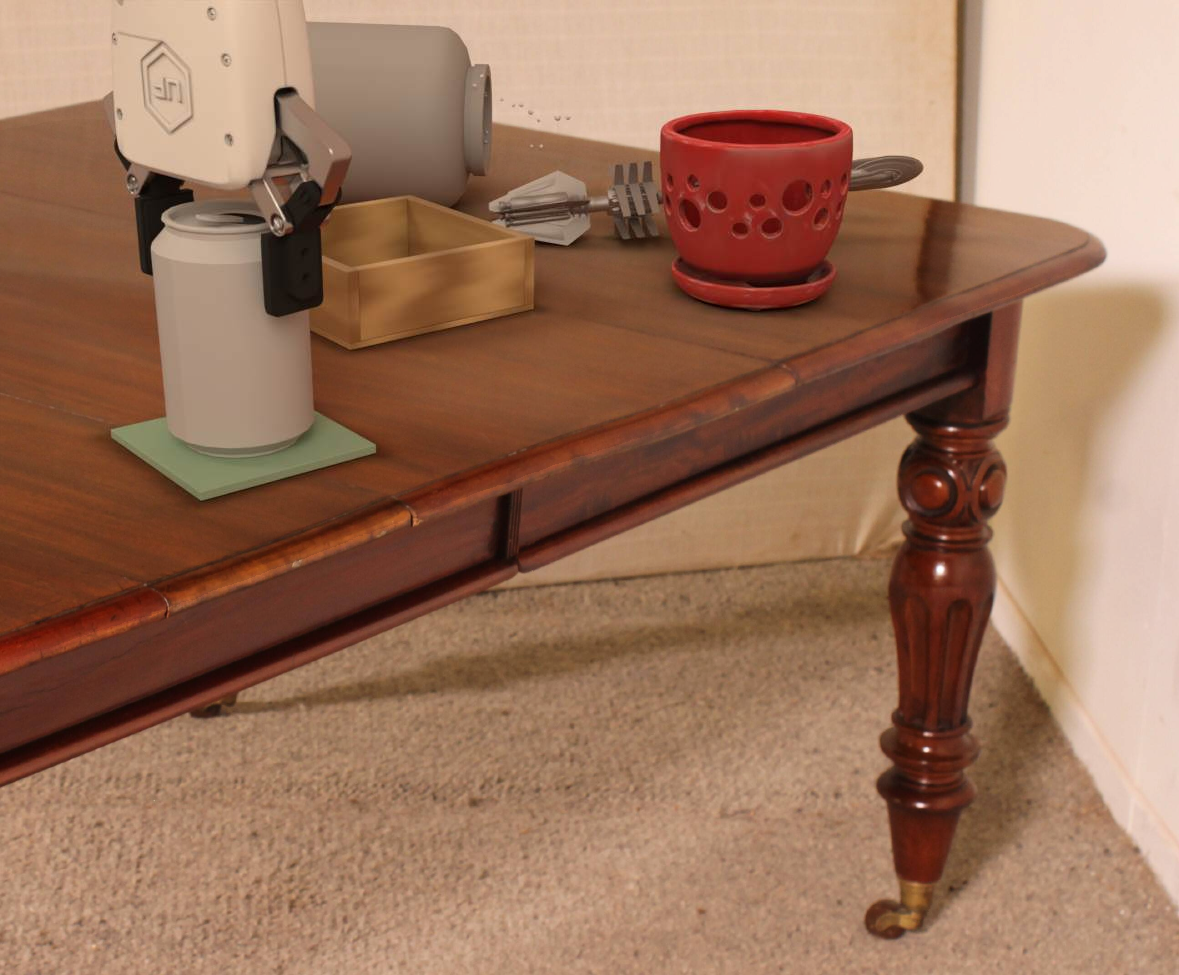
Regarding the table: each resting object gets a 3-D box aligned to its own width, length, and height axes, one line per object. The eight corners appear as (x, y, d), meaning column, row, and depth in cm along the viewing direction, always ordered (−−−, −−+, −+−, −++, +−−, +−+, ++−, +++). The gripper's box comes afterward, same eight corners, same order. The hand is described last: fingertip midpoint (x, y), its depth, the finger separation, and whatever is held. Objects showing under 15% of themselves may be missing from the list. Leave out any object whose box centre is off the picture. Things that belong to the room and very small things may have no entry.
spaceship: (947, 153, 114) (914, 97, 119) (494, 204, 110) (480, 144, 115) (930, 236, 120) (899, 179, 125) (499, 288, 116) (486, 227, 121)
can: (345, 431, 79) (336, 207, 74) (241, 476, 73) (224, 237, 68) (243, 400, 83) (228, 184, 78) (137, 441, 77) (113, 211, 72)
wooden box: (350, 350, 92) (347, 271, 90) (235, 293, 102) (230, 222, 100) (534, 309, 101) (535, 237, 99) (411, 261, 111) (410, 194, 109)
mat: (201, 501, 72) (200, 492, 71) (111, 438, 78) (110, 429, 78) (376, 453, 78) (376, 444, 77) (278, 398, 84) (278, 389, 84)
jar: (329, 114, 137) (594, 91, 132) (313, 259, 133) (587, 242, 128) (241, -12, 120) (542, -44, 115) (219, 150, 115) (532, 125, 110)
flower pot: (740, 258, 115) (752, 99, 110) (876, 298, 106) (895, 128, 101) (615, 287, 107) (621, 117, 102) (750, 333, 98) (764, 149, 93)
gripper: (24, -86, 70) (64, 269, 77) (264, -59, 60) (285, 346, 67) (159, -89, 75) (185, 243, 82) (399, -65, 65) (406, 311, 72)
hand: (230, 289), depth 75 cm, fingers open, 9 cm apart
